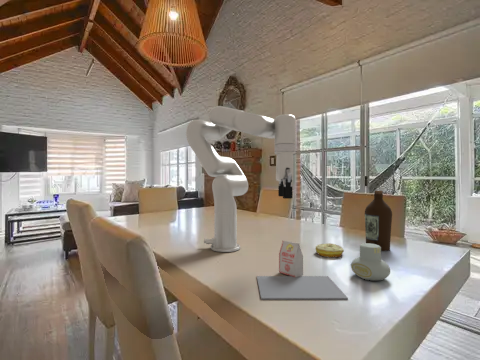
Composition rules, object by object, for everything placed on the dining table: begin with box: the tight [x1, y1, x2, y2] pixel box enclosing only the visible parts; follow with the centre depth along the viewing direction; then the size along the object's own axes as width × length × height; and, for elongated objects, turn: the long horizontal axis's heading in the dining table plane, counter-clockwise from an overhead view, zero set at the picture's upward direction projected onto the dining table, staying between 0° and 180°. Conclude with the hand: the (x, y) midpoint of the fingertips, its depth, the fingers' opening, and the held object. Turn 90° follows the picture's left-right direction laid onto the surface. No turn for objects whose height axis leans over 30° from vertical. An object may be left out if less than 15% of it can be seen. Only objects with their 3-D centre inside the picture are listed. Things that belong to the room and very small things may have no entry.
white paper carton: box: [278, 240, 304, 277], centre depth 87 cm, size 4×7×10 cm, turn 38°
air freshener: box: [350, 242, 391, 282], centre depth 84 cm, size 11×8×10 cm
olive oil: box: [364, 190, 393, 252], centre depth 118 cm, size 11×11×25 cm
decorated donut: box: [315, 242, 345, 258], centre depth 109 cm, size 10×11×4 cm
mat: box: [256, 275, 349, 301], centre depth 76 cm, size 22×15×1 cm
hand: (285, 197), depth 98 cm, fingers open, 9 cm apart
